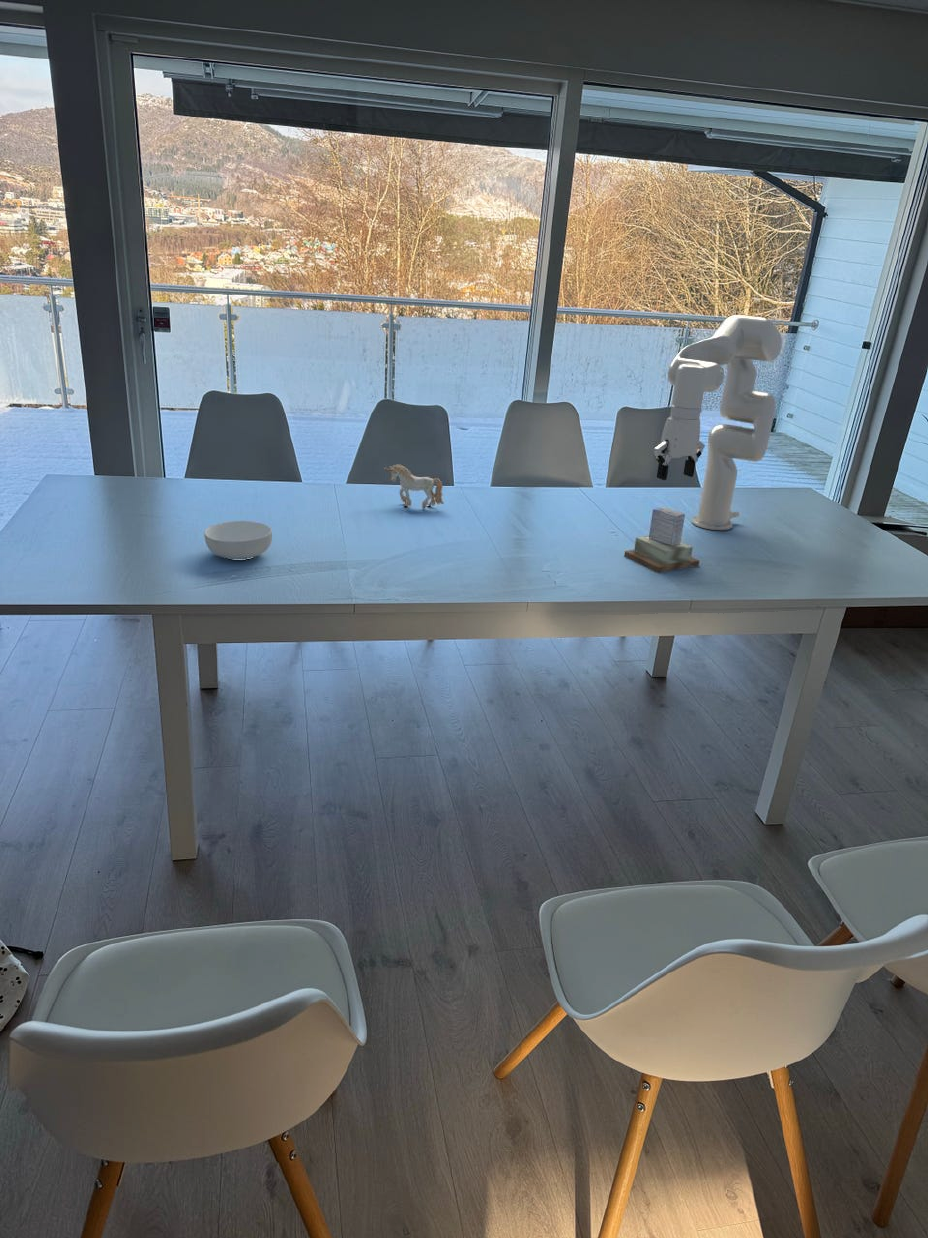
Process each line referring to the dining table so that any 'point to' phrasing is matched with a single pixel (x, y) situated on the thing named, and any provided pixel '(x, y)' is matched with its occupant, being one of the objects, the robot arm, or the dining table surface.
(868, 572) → the dining table surface
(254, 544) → the cereal bowl
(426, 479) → the unicorn figurine
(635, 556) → the base board
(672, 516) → the medicine box
